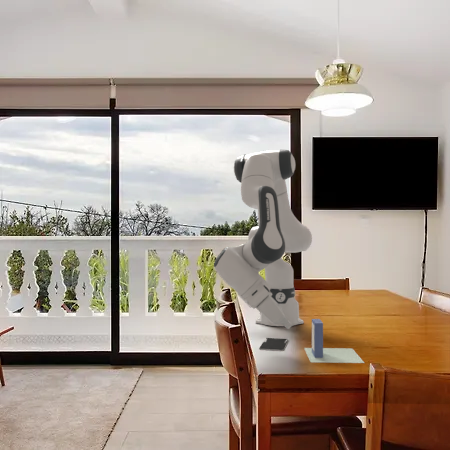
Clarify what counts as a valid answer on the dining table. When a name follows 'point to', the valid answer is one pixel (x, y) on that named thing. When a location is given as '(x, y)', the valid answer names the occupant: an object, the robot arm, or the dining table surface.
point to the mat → (335, 355)
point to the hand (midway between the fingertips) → (289, 326)
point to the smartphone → (274, 344)
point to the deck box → (317, 338)
